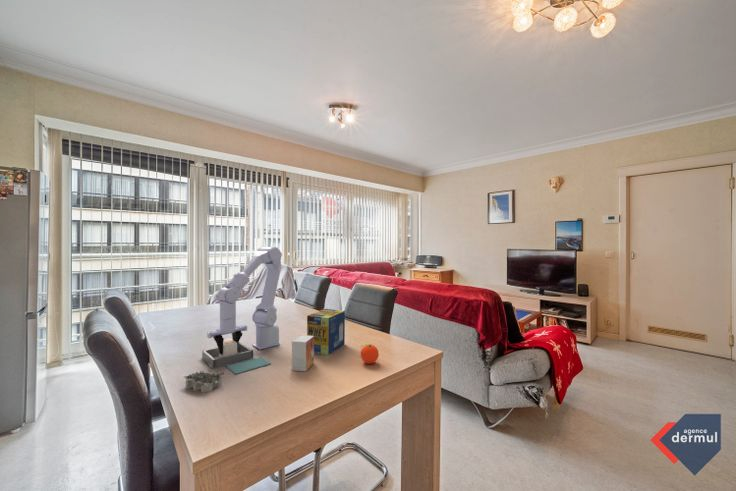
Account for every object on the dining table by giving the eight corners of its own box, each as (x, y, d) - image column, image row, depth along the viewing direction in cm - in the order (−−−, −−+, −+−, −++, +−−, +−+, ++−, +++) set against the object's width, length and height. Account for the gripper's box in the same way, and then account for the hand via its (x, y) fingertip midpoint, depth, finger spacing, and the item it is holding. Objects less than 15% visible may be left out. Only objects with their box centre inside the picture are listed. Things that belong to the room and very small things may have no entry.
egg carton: (225, 384, 95) (225, 372, 95) (203, 395, 88) (204, 381, 88) (203, 378, 100) (203, 365, 100) (181, 387, 93) (181, 374, 93)
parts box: (230, 353, 121) (230, 338, 121) (237, 357, 116) (237, 342, 116) (218, 356, 118) (218, 340, 118) (225, 361, 113) (225, 345, 113)
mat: (260, 357, 117) (260, 356, 117) (270, 364, 111) (270, 363, 111) (226, 367, 108) (226, 365, 108) (235, 374, 102) (235, 373, 102)
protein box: (306, 352, 123) (306, 315, 123) (325, 341, 137) (325, 308, 137) (328, 356, 119) (328, 317, 119) (345, 344, 134) (345, 310, 134)
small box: (305, 372, 104) (306, 342, 104) (291, 370, 105) (291, 341, 105) (314, 363, 112) (314, 335, 112) (300, 362, 113) (300, 334, 113)
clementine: (354, 363, 112) (354, 344, 112) (365, 357, 118) (365, 339, 118) (371, 368, 107) (371, 348, 107) (382, 362, 113) (382, 343, 113)
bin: (239, 349, 127) (239, 342, 127) (253, 357, 117) (253, 350, 117) (202, 358, 117) (202, 350, 117) (213, 368, 107) (213, 360, 107)
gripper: (242, 313, 125) (242, 345, 125) (204, 319, 115) (204, 354, 115) (249, 316, 120) (249, 349, 120) (210, 322, 110) (210, 359, 110)
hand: (227, 352), depth 117 cm, fingers closed on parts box, 4 cm apart
